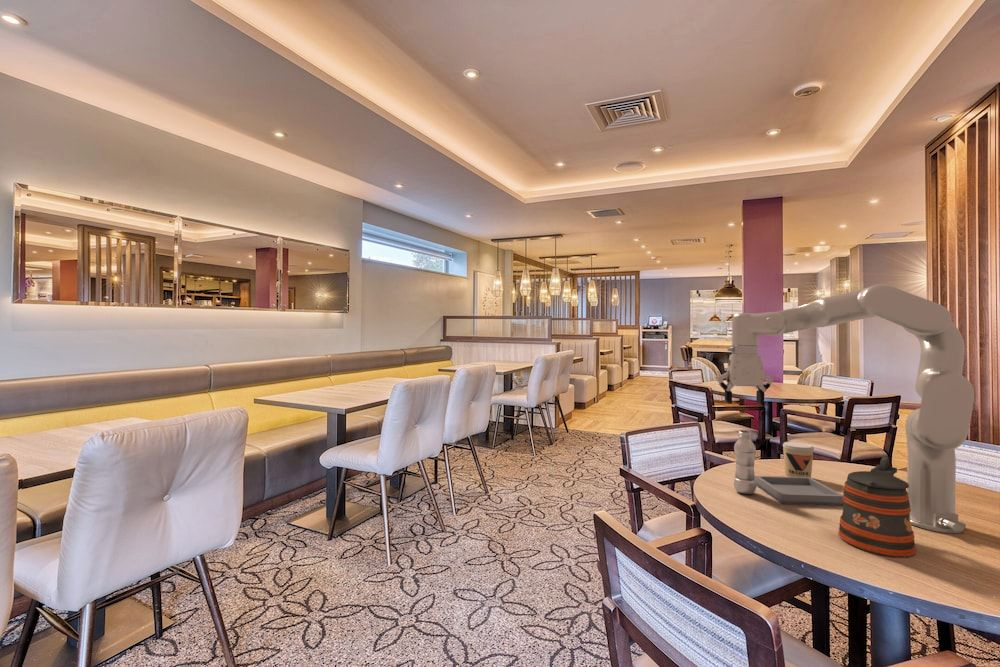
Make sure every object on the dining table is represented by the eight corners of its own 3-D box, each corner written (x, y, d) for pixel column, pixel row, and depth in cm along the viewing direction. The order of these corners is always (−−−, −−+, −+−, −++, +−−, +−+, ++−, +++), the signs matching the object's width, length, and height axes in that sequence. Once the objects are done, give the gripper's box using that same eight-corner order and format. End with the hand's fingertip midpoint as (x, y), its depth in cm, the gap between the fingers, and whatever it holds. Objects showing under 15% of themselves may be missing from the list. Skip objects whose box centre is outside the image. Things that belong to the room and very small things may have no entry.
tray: (845, 506, 135) (845, 496, 135) (782, 504, 137) (782, 494, 137) (809, 486, 153) (809, 477, 153) (754, 484, 155) (754, 475, 155)
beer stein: (847, 520, 125) (847, 448, 125) (919, 538, 114) (919, 459, 114) (833, 542, 112) (833, 462, 112) (912, 564, 101) (913, 476, 101)
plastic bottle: (736, 495, 144) (736, 433, 144) (731, 488, 151) (731, 428, 151) (758, 497, 142) (758, 434, 142) (753, 490, 149) (753, 430, 149)
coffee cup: (783, 479, 160) (783, 445, 160) (781, 472, 168) (781, 440, 168) (815, 483, 156) (815, 449, 156) (811, 476, 164) (811, 443, 164)
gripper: (721, 351, 144) (721, 404, 144) (778, 351, 142) (778, 405, 142) (712, 350, 151) (712, 400, 151) (766, 350, 149) (766, 402, 150)
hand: (744, 403), depth 147 cm, fingers open, 9 cm apart
